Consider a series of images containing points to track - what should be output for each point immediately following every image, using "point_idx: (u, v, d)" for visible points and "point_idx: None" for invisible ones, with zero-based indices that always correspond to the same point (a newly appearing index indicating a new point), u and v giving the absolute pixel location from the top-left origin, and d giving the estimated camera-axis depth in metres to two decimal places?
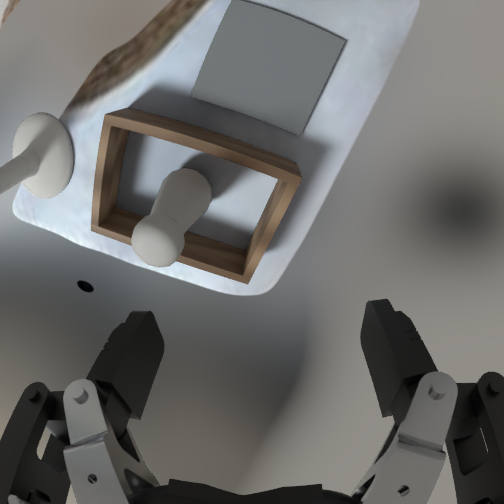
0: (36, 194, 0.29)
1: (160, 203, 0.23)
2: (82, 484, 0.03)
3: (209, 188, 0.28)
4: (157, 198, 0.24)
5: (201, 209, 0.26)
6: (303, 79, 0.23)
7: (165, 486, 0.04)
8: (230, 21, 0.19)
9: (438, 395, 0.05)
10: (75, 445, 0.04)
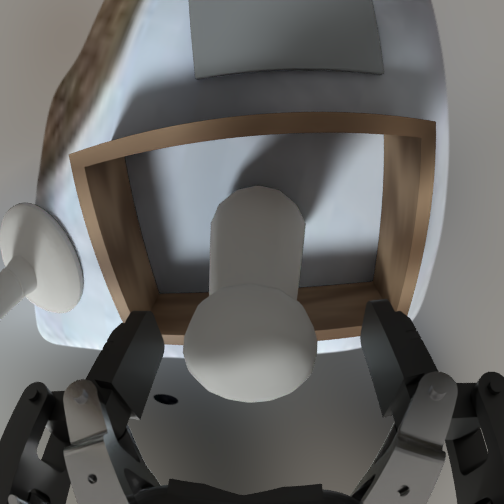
0: (52, 310, 0.23)
1: (222, 262, 0.11)
2: (82, 484, 0.03)
3: (294, 205, 0.16)
4: (212, 255, 0.13)
5: (301, 244, 0.14)
6: None
7: (165, 486, 0.04)
8: None
9: (438, 395, 0.05)
10: (75, 445, 0.04)
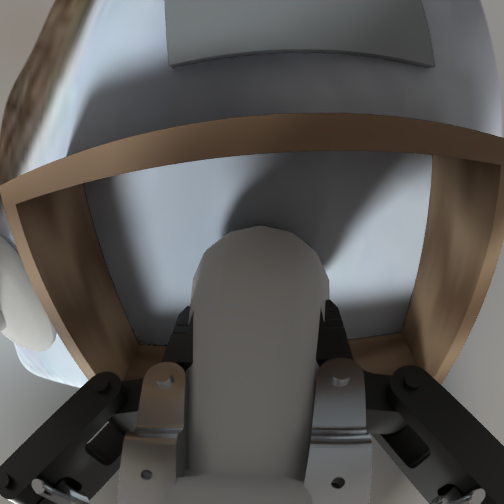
0: (27, 348, 0.18)
1: (201, 388, 0.06)
2: (132, 476, 0.03)
3: (315, 256, 0.10)
4: None
5: None
6: None
7: None
8: None
9: (337, 380, 0.06)
10: (141, 434, 0.04)
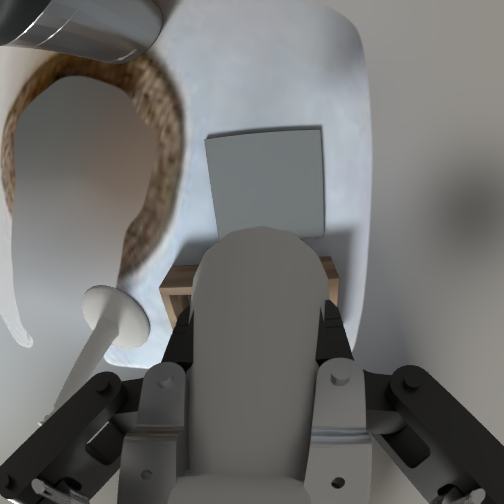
0: (124, 347, 0.41)
1: (201, 388, 0.06)
2: (132, 476, 0.03)
3: (315, 256, 0.10)
4: None
5: None
6: (303, 187, 0.28)
7: None
8: (215, 164, 0.28)
9: (337, 380, 0.06)
10: (141, 434, 0.04)
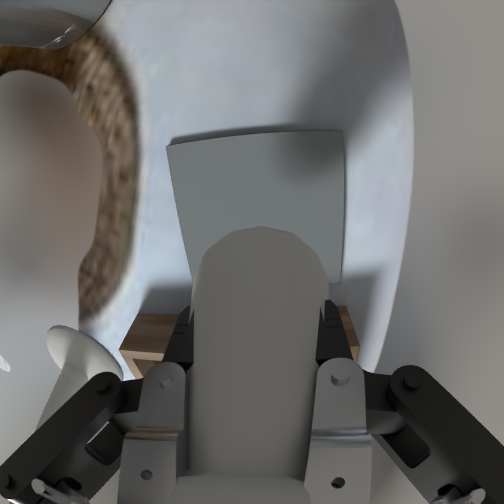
0: None
1: (202, 388, 0.06)
2: (132, 476, 0.03)
3: (315, 256, 0.10)
4: None
5: None
6: (315, 218, 0.19)
7: None
8: (183, 183, 0.18)
9: (337, 380, 0.06)
10: (141, 434, 0.04)
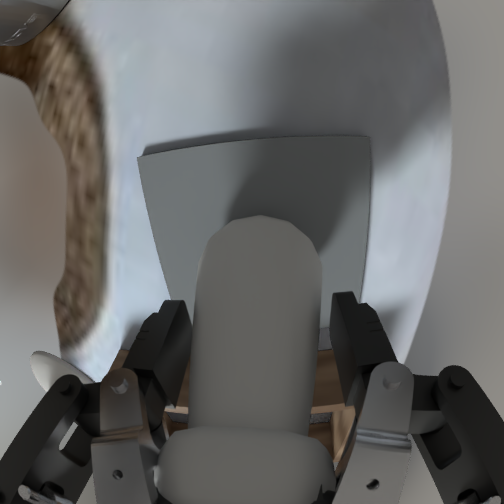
0: None
1: (206, 354, 0.07)
2: (105, 478, 0.03)
3: (310, 243, 0.12)
4: (195, 327, 0.09)
5: (318, 305, 0.10)
6: (330, 250, 0.15)
7: None
8: (160, 205, 0.14)
9: (391, 385, 0.05)
10: (105, 437, 0.04)
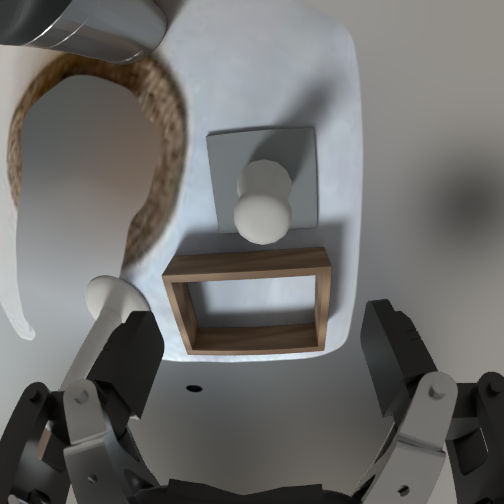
0: None
1: (248, 187, 0.23)
2: (82, 484, 0.03)
3: (285, 169, 0.27)
4: (241, 189, 0.24)
5: (287, 187, 0.25)
6: (298, 181, 0.30)
7: (165, 486, 0.04)
8: (216, 159, 0.29)
9: (438, 395, 0.05)
10: (75, 445, 0.04)
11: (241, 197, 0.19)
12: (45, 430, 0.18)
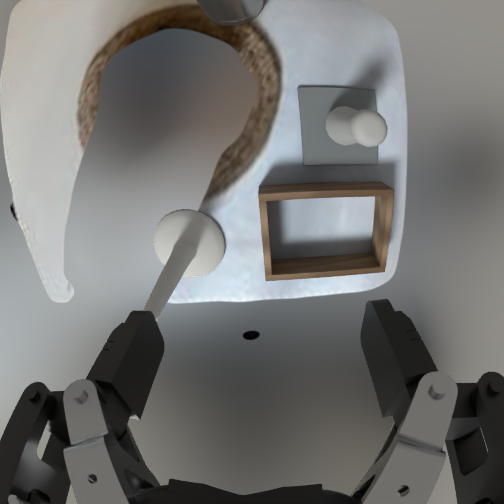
0: (194, 275, 0.48)
1: (349, 115, 0.28)
2: (82, 484, 0.03)
3: None
4: (339, 119, 0.30)
5: None
6: None
7: (165, 486, 0.04)
8: (305, 105, 0.35)
9: (438, 395, 0.05)
10: (75, 445, 0.04)
11: (356, 113, 0.24)
12: None
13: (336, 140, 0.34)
